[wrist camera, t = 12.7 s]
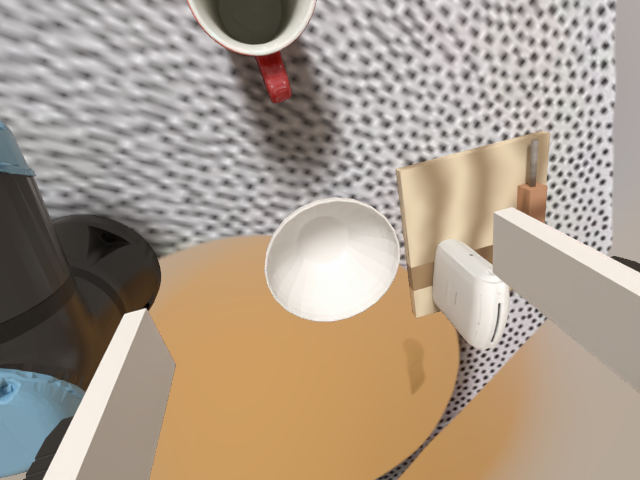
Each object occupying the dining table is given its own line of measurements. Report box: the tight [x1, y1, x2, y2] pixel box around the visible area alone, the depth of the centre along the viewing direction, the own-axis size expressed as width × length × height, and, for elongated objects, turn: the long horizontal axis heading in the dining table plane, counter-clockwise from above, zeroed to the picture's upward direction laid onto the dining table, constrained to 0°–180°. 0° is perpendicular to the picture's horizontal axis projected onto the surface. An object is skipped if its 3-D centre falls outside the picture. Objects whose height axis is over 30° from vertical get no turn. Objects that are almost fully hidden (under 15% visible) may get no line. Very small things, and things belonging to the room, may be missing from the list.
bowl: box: [264, 197, 400, 322], centre depth 45 cm, size 16×16×7 cm
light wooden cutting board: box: [396, 131, 550, 318], centre depth 51 cm, size 20×23×2 cm
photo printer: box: [432, 239, 509, 350], centre depth 47 cm, size 10×4×12 cm, turn 3°
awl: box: [517, 139, 547, 224], centre depth 48 cm, size 14×2×2 cm, turn 12°
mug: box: [187, 0, 317, 103], centre depth 31 cm, size 13×9×14 cm
